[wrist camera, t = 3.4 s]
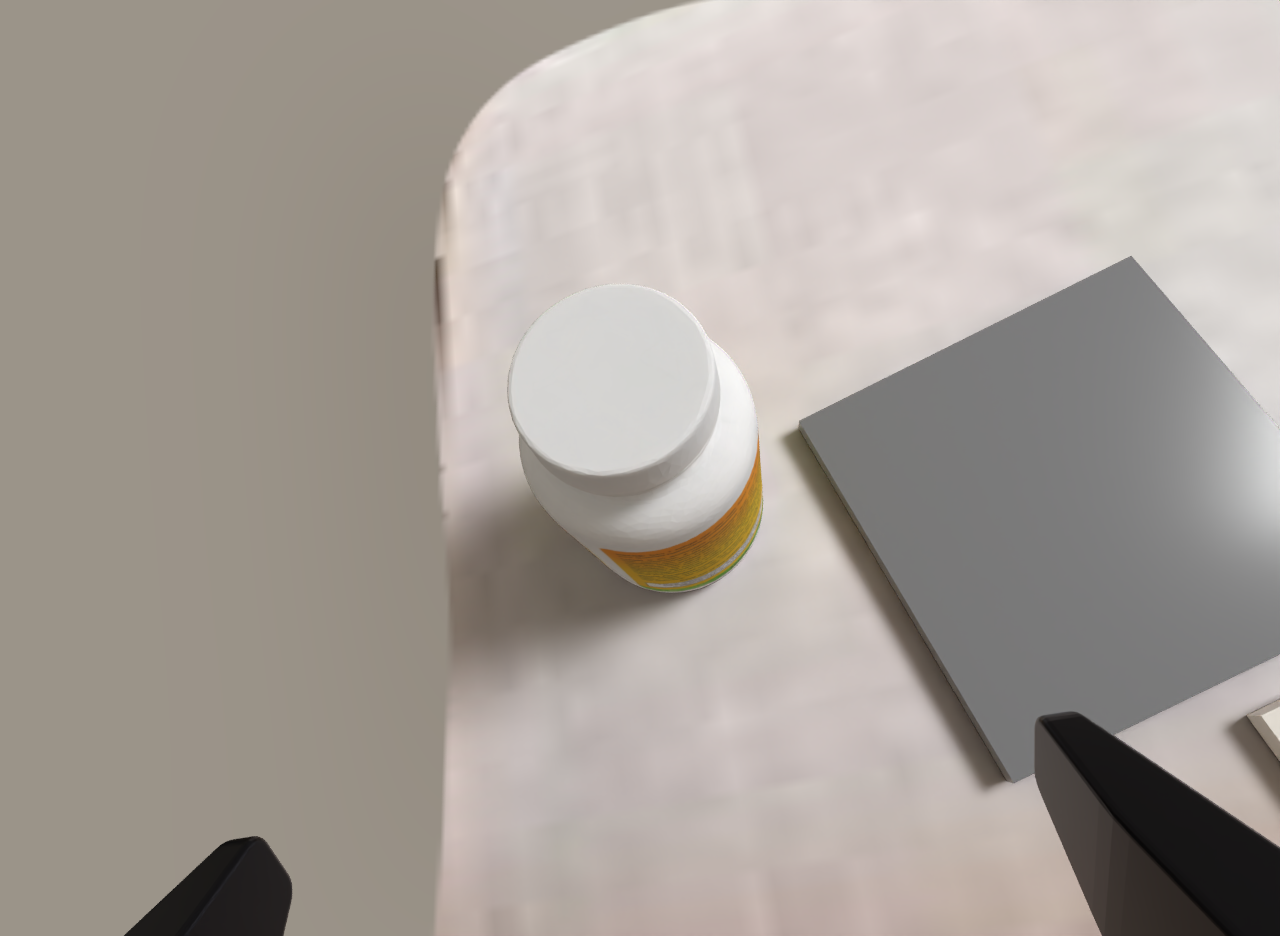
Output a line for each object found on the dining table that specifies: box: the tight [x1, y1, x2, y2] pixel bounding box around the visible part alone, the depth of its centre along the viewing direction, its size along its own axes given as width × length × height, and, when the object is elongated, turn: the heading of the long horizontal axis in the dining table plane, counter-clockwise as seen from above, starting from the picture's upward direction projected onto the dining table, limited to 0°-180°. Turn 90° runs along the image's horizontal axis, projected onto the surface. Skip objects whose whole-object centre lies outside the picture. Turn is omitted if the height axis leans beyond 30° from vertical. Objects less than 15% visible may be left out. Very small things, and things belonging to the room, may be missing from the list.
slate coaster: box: [799, 256, 1280, 783], centre depth 21 cm, size 11×11×1 cm
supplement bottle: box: [507, 284, 763, 593], centre depth 18 cm, size 5×5×10 cm
